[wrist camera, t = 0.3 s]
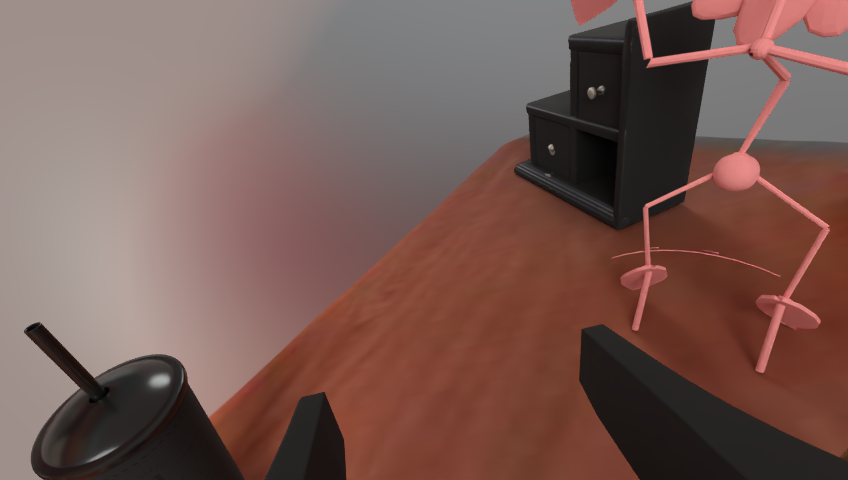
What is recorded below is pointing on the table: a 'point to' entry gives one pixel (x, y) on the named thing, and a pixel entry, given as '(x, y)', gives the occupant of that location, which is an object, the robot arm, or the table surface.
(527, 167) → the black drawer organizer
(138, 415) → the drinking cup
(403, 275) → the table surface
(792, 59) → the figurine
